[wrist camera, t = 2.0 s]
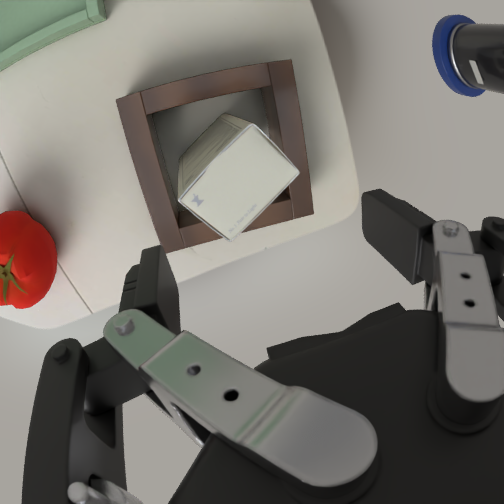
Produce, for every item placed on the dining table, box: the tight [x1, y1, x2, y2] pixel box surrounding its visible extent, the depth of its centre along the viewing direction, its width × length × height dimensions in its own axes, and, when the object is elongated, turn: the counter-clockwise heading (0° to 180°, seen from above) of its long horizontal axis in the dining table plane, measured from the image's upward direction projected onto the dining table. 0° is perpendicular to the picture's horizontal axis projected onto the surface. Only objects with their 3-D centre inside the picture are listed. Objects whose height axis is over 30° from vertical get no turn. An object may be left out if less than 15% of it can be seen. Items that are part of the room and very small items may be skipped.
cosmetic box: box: [178, 113, 300, 242], centre depth 23 cm, size 6×4×12 cm
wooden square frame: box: [116, 60, 314, 253], centre depth 27 cm, size 14×14×4 cm
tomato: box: [0, 211, 57, 309], centre depth 25 cm, size 9×9×8 cm
